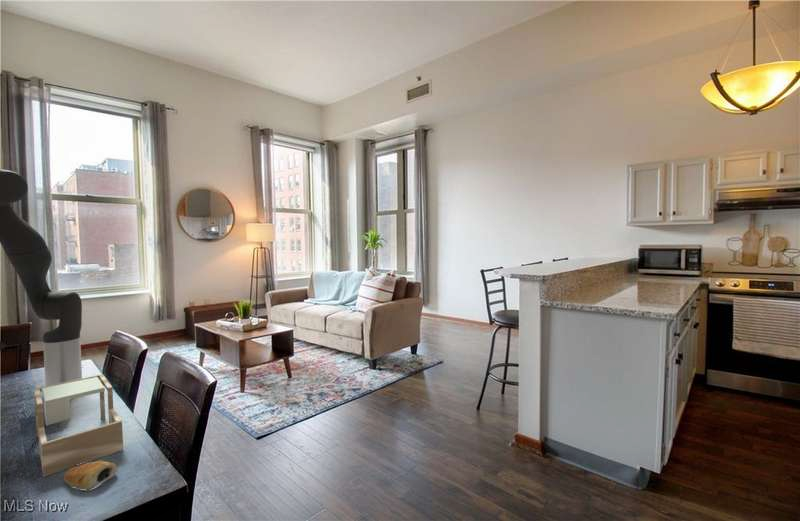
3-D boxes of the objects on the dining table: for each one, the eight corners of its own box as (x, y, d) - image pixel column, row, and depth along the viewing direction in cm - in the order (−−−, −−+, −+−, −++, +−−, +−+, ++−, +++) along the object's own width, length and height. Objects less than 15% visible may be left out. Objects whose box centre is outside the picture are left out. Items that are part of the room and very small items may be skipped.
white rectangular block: (44, 419, 104) (43, 391, 104) (68, 413, 108) (67, 386, 107) (46, 425, 101) (44, 396, 100) (70, 419, 104) (69, 391, 104)
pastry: (52, 488, 75) (51, 470, 75) (87, 468, 81) (86, 451, 81) (90, 494, 73) (89, 475, 73) (122, 473, 80) (121, 456, 79)
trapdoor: (42, 392, 94) (42, 388, 94) (97, 380, 102) (97, 376, 102) (45, 405, 87) (45, 401, 87) (104, 391, 95) (104, 387, 95)
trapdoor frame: (36, 436, 95) (34, 388, 94) (104, 417, 105) (102, 374, 104) (43, 476, 78) (40, 419, 78) (123, 449, 88) (121, 398, 88)
